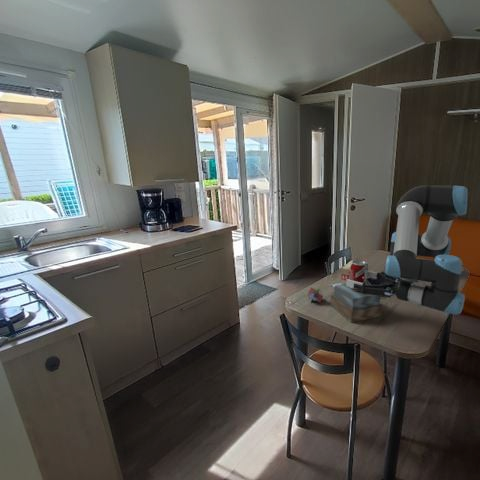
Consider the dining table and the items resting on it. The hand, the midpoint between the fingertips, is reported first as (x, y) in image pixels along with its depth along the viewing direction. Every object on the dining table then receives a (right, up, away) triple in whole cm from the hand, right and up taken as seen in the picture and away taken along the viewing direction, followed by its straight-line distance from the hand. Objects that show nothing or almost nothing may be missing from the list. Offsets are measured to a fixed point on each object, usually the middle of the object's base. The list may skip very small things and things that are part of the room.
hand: (354, 277), depth 120 cm
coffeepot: (+32, -10, +18) cm, 38 cm away
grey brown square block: (+3, -15, +5) cm, 16 cm away
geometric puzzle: (-12, -13, +14) cm, 23 cm away
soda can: (+3, -6, +3) cm, 7 cm away
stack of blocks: (+12, -8, +30) cm, 34 cm away
